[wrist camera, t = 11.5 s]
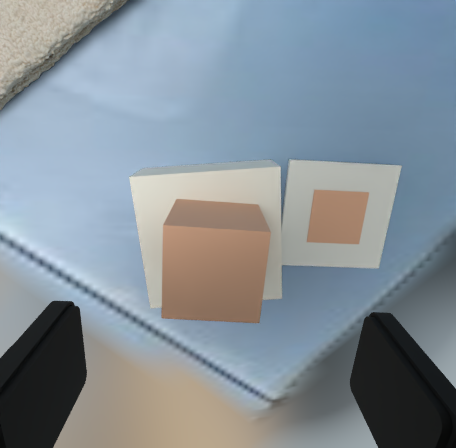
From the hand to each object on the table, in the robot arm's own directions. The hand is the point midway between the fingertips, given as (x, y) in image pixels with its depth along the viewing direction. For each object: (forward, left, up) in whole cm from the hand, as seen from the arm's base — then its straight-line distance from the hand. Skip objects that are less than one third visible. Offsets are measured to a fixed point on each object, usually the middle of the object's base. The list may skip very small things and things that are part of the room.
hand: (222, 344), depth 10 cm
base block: (0, +1, -14) cm, 14 cm away
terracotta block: (0, 0, -10) cm, 10 cm away
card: (-9, -1, -14) cm, 16 cm away
